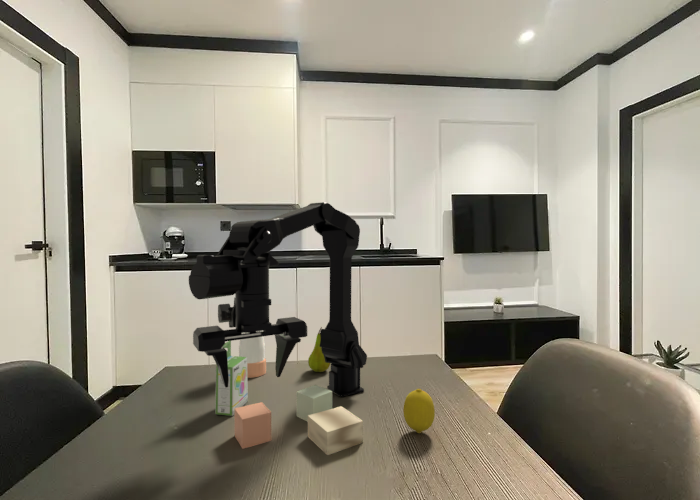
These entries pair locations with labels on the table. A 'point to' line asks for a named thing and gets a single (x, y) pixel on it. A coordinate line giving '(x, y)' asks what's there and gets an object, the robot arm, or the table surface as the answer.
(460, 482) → the table surface
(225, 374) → the robot arm
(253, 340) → the pepper shaker
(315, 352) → the fruit
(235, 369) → the ink box
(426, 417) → the lemon
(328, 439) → the maple base
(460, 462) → the table surface
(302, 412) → the sage cube
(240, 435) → the terracotta cube
